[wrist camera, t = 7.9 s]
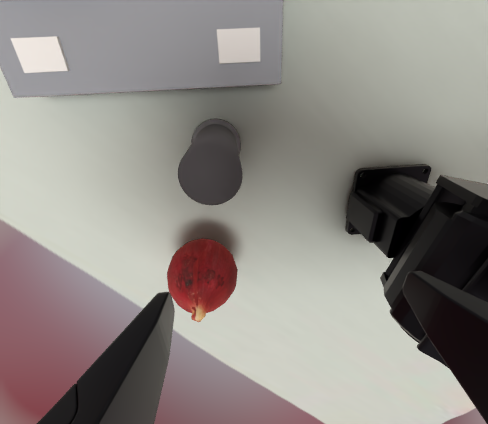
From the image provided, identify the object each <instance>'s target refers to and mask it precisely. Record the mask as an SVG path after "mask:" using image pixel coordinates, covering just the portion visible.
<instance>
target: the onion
mask: <svg viewBox="0 0 488 424" xmlns="http://www.w3.org/2000/svg"><path fill="white" fill-rule="evenodd" d="M167 279H168V288H169V292H170V294H171V296H172V297H173V299H174V300H175V301H176V303H177V304H178V305H179V306H180V307H181V308H183V309H184V310H186V311H187V312H190V313H192V317H191V318H192V320H194V321H197V322H200V321H201V320H202V319H203V318H204V317H205V315H206V313H208V312H211V311H214V310H215V309H217V308H218V307H220V306H221V305H223V304H224V303H225V302H226V301H227V300H228V298H229V297H230V295H231V294H232V293H233V291H234V289H235V286H236V280H237V267H236V264H235V261H234V258H233V255H232V254H231V253H230V252H229V251H228V250H227V249H226V247H224V246H223V245H222V244H220V243H218V242H216V241H214V240H210V239H202V238H201V239H197V240H193V241H190V242H188V243H186V244H185V245H183V246H182V247H181V248H180V249H178V250H177V251H176V253H175V254H174V256H173V257H172V260H171V262H170V265H169V268H168V272H167Z"/></svg>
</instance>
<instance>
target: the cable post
mask: <svg viewBox="0 0 488 424" xmlns="http://www.w3.org/2000/svg"><path fill="white" fill-rule="evenodd" d="M240 148H241V143H240V138H239V135H238V133H237V131H236V129H235V128H234V127H233V126H232V125H231V124H230V123H228V122H226V121H224V120H221V119H210V120H207V121H205V122H203V123H201V124H200V125H199V126H198V127H197V129H196V130H195V132H194V134H193V137H192V143H191V145H190V147H189V149H188V150H187V152H186V153H185V155H184V156H183V158H182V159H181V162H180V164H179V168H178V179H179V182H180V185H181V187H182V189H183V190H184V192H185V193H186V194H187V195H188V196H189V197H190V198H191V199H193V200H194V201H196V202H198V203H201V204H205V205H218V204H222V203H224V202H226V201H228V200H230V199H231V198H232V197H233V196H235V194H236V193H237V192H238V190H239V188H240V186H241V183H242V168H241V163H240V158H239V153H240Z"/></svg>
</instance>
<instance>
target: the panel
mask: <svg viewBox="0 0 488 424" xmlns="http://www.w3.org/2000/svg"><path fill="white" fill-rule="evenodd" d="M282 26H283V0H0V67H1V70H2V72H3V74H4V77H5V79H6V81H7V83H8V86H9V88H10V90H11V92H12V95H13V97H14V98H17V97H45V96H65V95H84V94H103V93H122V92H141V91H160V90H179V89H198V88H217V87H237V86H256V85H274V84H281V72H282Z"/></svg>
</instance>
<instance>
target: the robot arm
mask: <svg viewBox="0 0 488 424" xmlns="http://www.w3.org/2000/svg"><path fill="white" fill-rule="evenodd" d="M424 169H425V170H424ZM423 170H424V172H422V171H423ZM430 172H431V167H430V166H428V165H424V164H422V165H407V166H391V167H376V168H362V169H359V170H357V172H356V173H355V178H354V184H353V190H352V193H351V194H350V198H349V204H348V210H347V216H346V218H347V224H346V231H347V232H348V234H351V235H353V234H362V235H363V236H364V237H365V239H366V240H367V241H368V242H370V243H374V244H375V245H376V246H377V247H378V248H379V249H380V250H381V251H382V252H383V253H384V254H385V255H386V256H387V257H388V258H393V260H392V262H391V264H390V265H389V267H388V269H387V270H386V272H383V274H382V276H381V277H380V279H381V281H382V284H383V287H384V295H385V297H386V299H387V301H388V303H389V305H390V307H391V310H390V314H391V315H392V317H393V318H394V319H395V321H396V322H397V323H398V324H399V325H400V326H401V328H402V329H403V330H404V331H405V332H406V333H407V334H408V335H409V336H410V337H412V338H413V339H414V340H415V341H417V342H418V343H419V344H418V345H417V348H418V349H419V350H420V351H421V352H423V353H425V354H427V355H428V356H430V357H432V358H434V359H436V360H438V361H439V362H441V363H442V364H444V365H445V366H447V367H448V368H449V369H450V370H451V371H452V373H453V374H454V376H455V377H456V379H457V380H458V382H459V383H460V385H461V386H462V388H463V389H464V391H465V392H466V394H467V395H468V397H469V398H470V399H471V401H472V402H473V404H474V405H475V407H476V408H477V410H478V411H479V413H480V414H481V416H482V417H483V418H484V420H485V421H486V423H487V424H488V184H484V183H479V182H474V181H469V180H464V179H458V178H453V177H448V176H443V175H440V177H439V179H438V180H437V182H436V183H437V186H436V187H433V186H431V185H429V184H427V181H428V178H429V175H430ZM362 173H364V174H363V176H361V177H360V175H361V174H362ZM352 228H353V229H352ZM351 229H352V230H351ZM173 321H174V305H173V301H172V297H171V294H170V293H169V292H162V293H158V294H157V295H156V296H155V297H154V298H153V299H152V300H151V301H150V302H149V303H148V304H147V306H146V307H145V308H144V309H143V310H142V311H141V312H140V313H139V314H138V315H137V316H136V318H135V319H134V320H133V321H132V322H131V323H130V324H129V325H128V326H127V327H126V328H125V330H124V331H123V332H122V333H121V334H120V335H119V336H118V337H117V338H116V339H115V341H113V343H112V344H111V345H110V346H109V347H108V348H107V349H106V350H105V352H103V353H102V355H101V356H100V357H99V358H98V359H97V360H96V361H95V362H94V363H93V364H92V365H91V367H90V368H89V369H88V370H87V371H86V372H85V373H84V374H83V375H82V376H81V377H80V378H79V380H78V381H77V384H74V385H73V386H72V387H71V388H70V389H69V390H68V391H67V392H66V394H65V395H64V396H63V397H62V398H61V399H60V400H59V401H58V402H57V403H56V404H55V405H54V406H53V407H52V409H51V410H50V411H49V412H48V413H47V414H46V415H45V416H44V417H43V418H42V419H41V420H40V421H39V422H38V423H37V424H154V421H155V417H156V413H157V408H158V404H159V399H160V395H161V390H162V387H163V382H164V378H165V373H166V369H167V365H168V360H169V354H170V346H171V338H172V330H173Z"/></svg>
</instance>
